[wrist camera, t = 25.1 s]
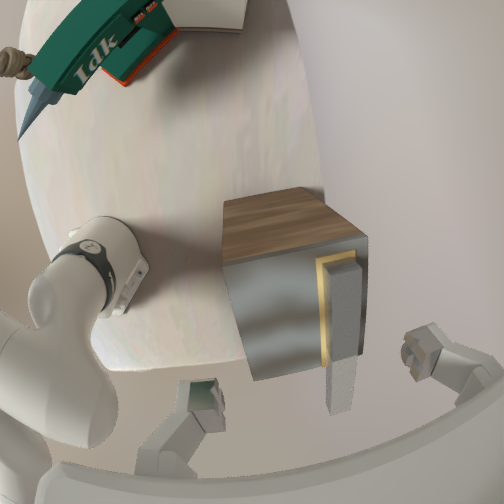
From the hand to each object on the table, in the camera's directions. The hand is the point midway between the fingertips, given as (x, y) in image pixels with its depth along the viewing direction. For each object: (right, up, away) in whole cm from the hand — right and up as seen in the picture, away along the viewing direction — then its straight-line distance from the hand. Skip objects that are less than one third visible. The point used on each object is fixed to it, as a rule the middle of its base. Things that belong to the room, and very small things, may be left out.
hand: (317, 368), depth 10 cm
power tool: (-25, +37, +26) cm, 52 cm away
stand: (+1, +8, +41) cm, 42 cm away
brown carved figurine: (-45, +41, +23) cm, 65 cm away
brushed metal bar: (+7, -6, +19) cm, 22 cm away
